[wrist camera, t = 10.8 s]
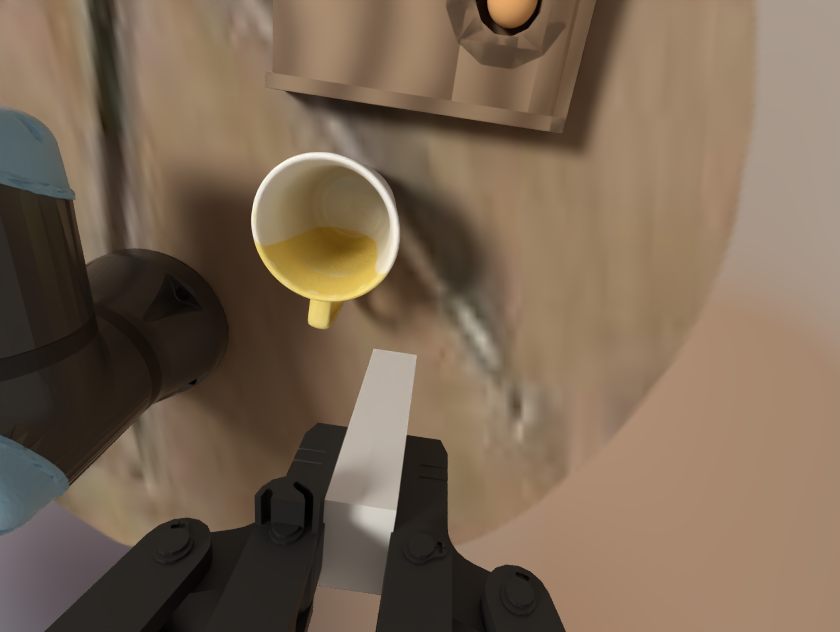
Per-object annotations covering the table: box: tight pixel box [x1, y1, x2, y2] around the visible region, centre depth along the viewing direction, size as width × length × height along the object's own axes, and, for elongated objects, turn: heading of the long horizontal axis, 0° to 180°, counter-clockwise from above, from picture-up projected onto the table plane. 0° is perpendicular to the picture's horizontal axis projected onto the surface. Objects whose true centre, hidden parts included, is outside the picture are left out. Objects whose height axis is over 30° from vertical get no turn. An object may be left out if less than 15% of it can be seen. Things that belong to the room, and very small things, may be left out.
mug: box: [251, 152, 400, 329], centre depth 35 cm, size 14×10×10 cm
